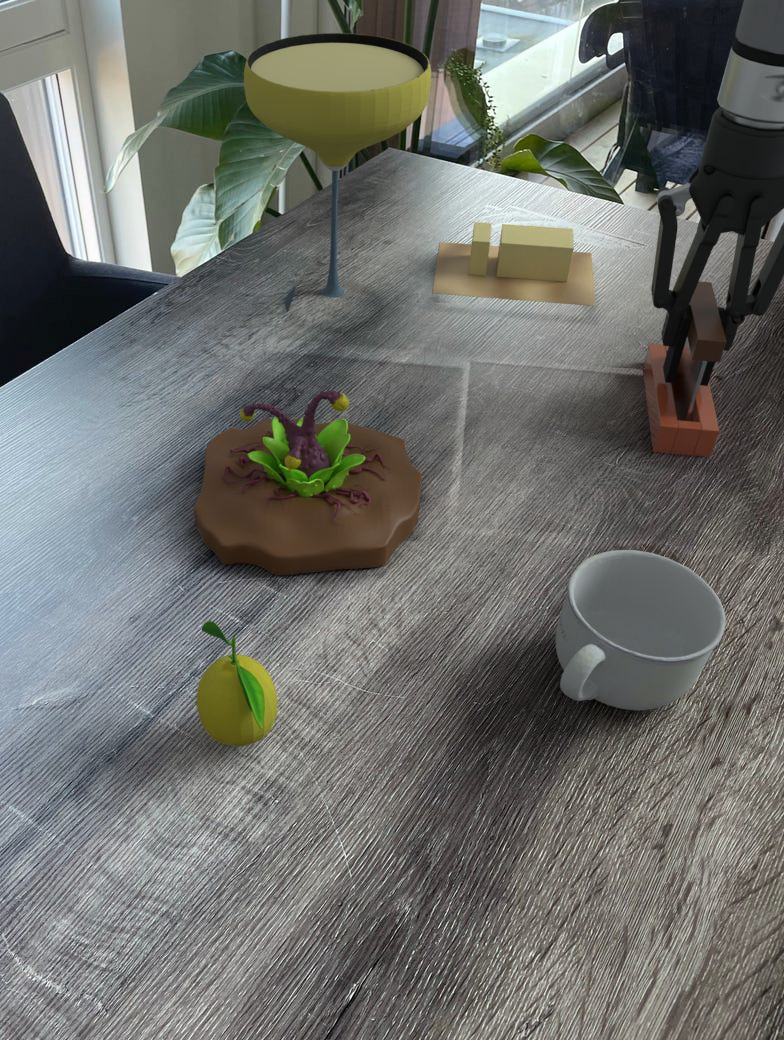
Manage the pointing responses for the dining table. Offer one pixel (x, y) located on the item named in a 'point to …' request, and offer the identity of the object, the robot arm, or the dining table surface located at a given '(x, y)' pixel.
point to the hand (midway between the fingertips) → (685, 376)
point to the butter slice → (480, 248)
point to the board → (510, 279)
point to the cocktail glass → (336, 100)
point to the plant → (306, 493)
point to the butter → (535, 252)
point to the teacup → (635, 630)
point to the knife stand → (662, 413)
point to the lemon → (235, 697)
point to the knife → (698, 348)
